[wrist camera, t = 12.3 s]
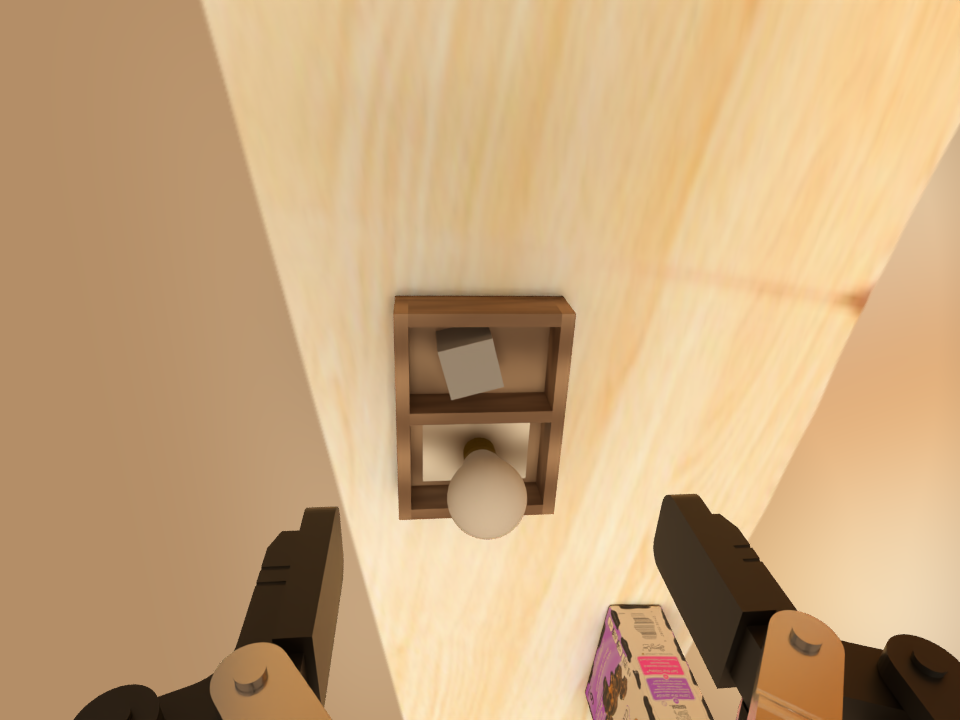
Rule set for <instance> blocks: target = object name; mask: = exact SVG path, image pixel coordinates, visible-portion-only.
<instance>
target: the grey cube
mask: <svg viewBox="0 0 960 720" xmlns="http://www.w3.org/2000/svg"><path fill="white" fill-rule="evenodd" d="M436 339H437V351H438V355H439V359H440V362H441V366H442V369H443V373H444V376H445V380H446V383H447V387H448V390H449V394H450V397H451V400H454V399H458V398H462V397H466V396H470V395H474V394H478V393H482V392H486V391H490V390H494V389H498V388H502V387H504V384H503V380H502V376H501V372H500V368H499V363H498V359H497V355H496V351H495V347H494V342H493V338H492V335H491V332H490V329H489V327H451V328H447V329H443V330H439V331H436Z"/></svg>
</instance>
